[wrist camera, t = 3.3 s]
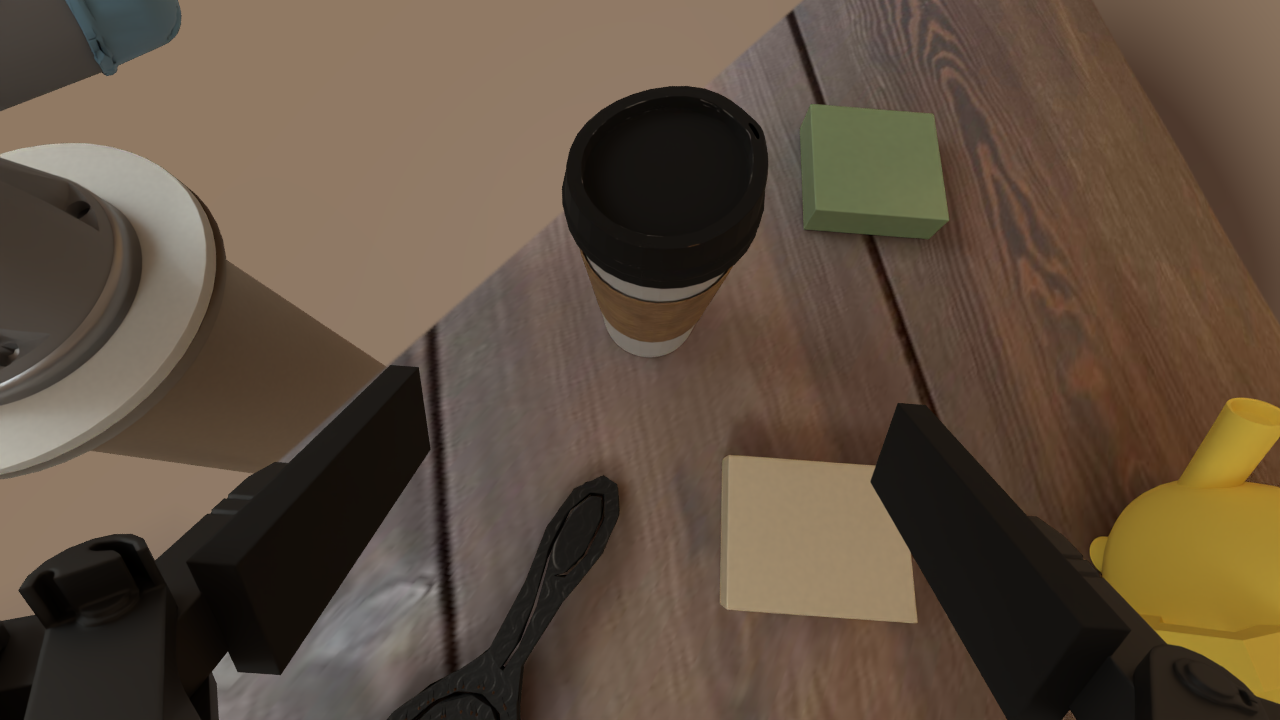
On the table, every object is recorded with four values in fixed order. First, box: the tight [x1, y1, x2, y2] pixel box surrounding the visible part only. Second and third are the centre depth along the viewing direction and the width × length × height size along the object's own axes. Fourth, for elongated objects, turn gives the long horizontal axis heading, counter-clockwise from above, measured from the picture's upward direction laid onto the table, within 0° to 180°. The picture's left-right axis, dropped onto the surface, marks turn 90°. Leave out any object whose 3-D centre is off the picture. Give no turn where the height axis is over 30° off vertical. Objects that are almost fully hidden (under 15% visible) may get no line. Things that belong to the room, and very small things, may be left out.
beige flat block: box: [720, 455, 917, 623], centre depth 28 cm, size 10×8×2 cm
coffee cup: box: [562, 86, 768, 357], centre depth 26 cm, size 8×8×15 cm
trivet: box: [800, 104, 949, 239], centre depth 36 cm, size 9×9×2 cm
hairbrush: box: [387, 475, 619, 720], centre depth 25 cm, size 8×4×25 cm
